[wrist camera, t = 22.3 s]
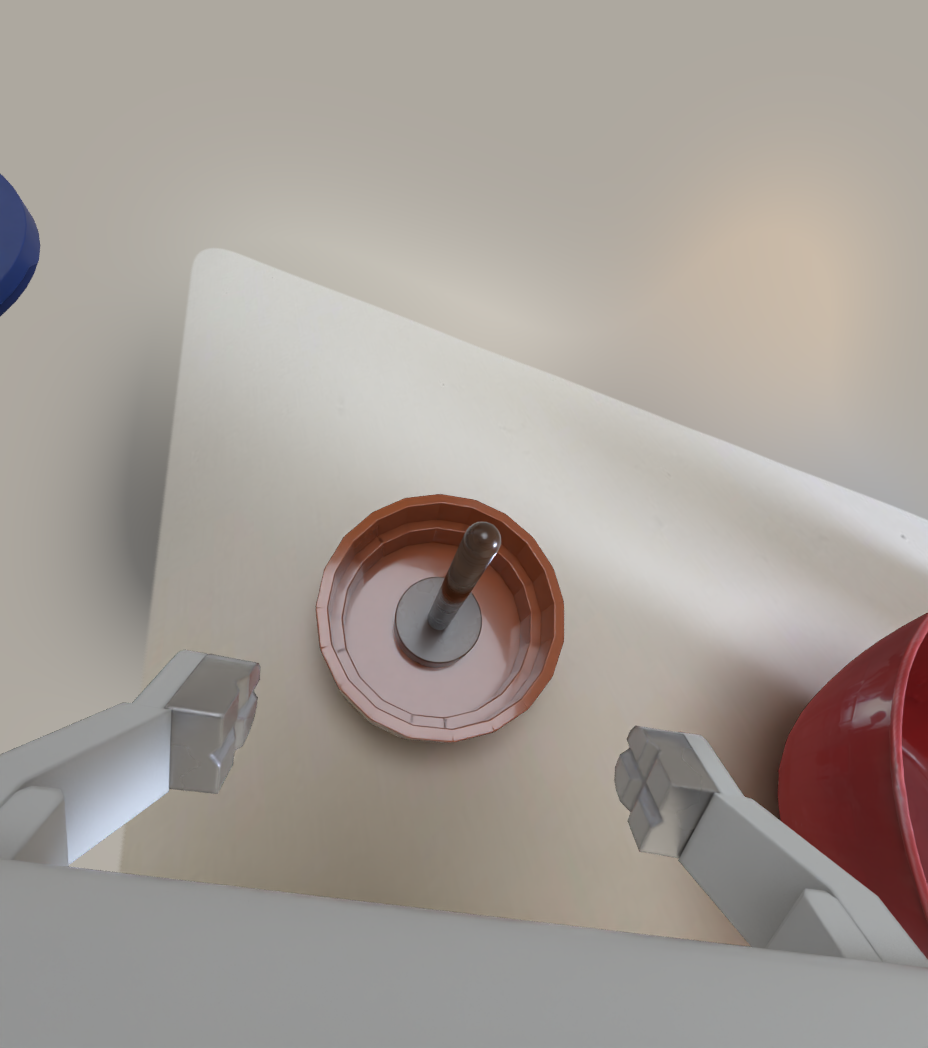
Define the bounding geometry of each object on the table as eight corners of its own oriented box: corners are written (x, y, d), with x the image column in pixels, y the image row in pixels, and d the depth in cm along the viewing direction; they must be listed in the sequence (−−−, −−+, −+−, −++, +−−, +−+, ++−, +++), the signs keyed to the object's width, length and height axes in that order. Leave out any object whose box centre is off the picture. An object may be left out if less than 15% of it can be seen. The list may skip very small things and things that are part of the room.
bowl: (277, 630, 33) (259, 608, 28) (428, 494, 39) (438, 455, 34) (441, 795, 31) (456, 807, 25) (573, 622, 37) (608, 601, 32)
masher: (375, 626, 34) (380, 531, 19) (433, 568, 36) (478, 445, 21) (438, 686, 33) (496, 638, 18) (492, 623, 35) (583, 533, 20)
